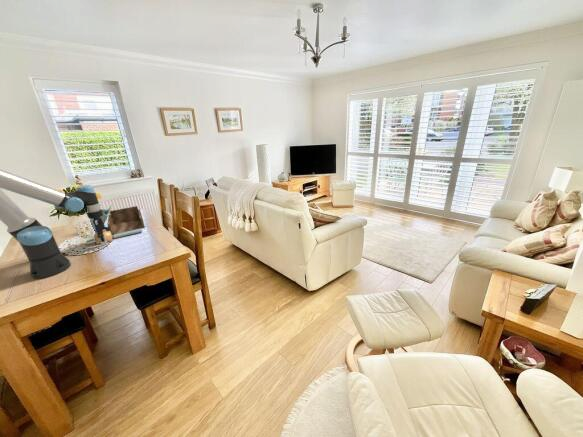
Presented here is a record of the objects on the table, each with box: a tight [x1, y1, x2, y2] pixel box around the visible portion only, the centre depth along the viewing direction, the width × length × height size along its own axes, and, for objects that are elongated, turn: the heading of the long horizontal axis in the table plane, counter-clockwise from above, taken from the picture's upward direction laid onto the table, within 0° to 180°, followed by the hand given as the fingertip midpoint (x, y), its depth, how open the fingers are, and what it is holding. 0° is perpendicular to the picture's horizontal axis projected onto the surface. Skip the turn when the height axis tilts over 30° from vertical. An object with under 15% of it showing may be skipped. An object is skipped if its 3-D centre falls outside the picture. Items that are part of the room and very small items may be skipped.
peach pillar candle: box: [93, 230, 114, 245], centre depth 152 cm, size 8×7×7 cm
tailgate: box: [113, 228, 143, 239], centre depth 162 cm, size 16×1×8 cm
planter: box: [89, 205, 113, 232], centre depth 171 cm, size 16×8×20 cm
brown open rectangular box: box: [107, 205, 146, 236], centre depth 172 cm, size 20×22×12 cm
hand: (105, 242), depth 153 cm, fingers open, 12 cm apart
